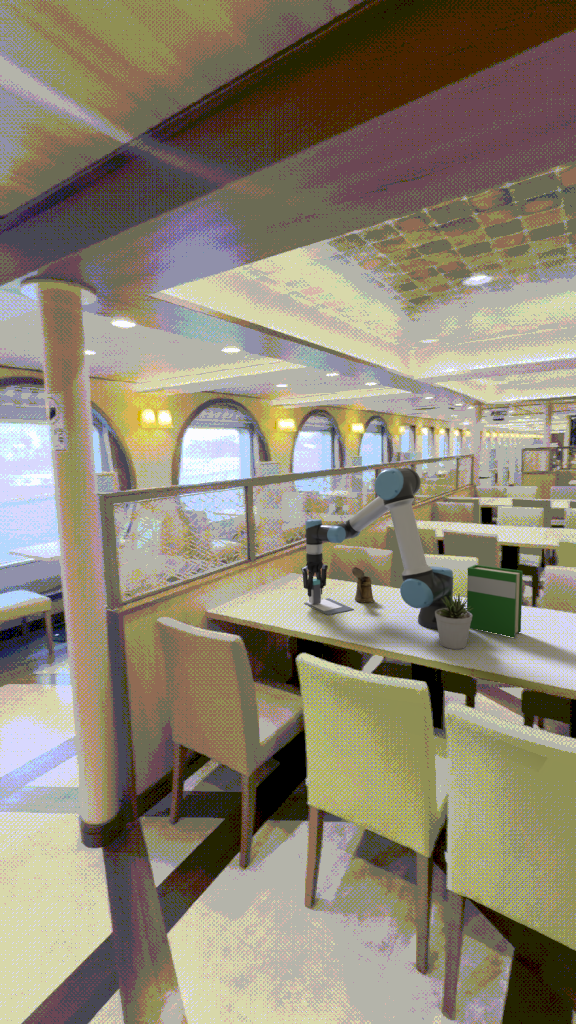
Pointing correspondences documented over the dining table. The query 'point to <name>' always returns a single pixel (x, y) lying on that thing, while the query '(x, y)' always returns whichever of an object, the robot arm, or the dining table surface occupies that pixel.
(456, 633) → the potted plant
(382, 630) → the dining table surface
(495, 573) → the hardback book
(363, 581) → the wooden mug
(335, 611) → the writing mat
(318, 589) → the marker
